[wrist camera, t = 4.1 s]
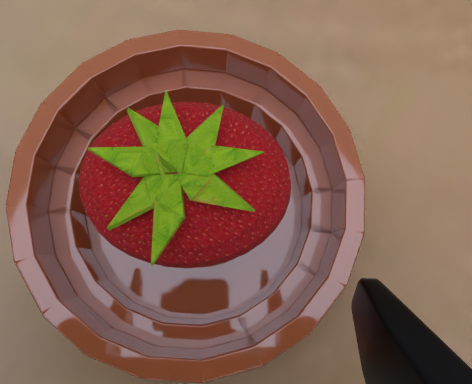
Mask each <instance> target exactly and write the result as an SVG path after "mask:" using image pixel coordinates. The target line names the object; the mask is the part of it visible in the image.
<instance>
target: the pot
mask: <svg viewBox="0 0 472 384" xmlns="http://www.w3.org/2000/svg"><path fill="white" fill-rule="evenodd" d="M165 91H167V93H168V96H169V98H170V100H171V103H172V102H200V103H208V104H213V105H217V106H221V105H223V104H224V107H226V108H228V109H231V110H233V111H236V112H238V113H241V114H243V115H245V116H247V117H248V118H250V119H252V120H253V121H255V122H257V123H258V124H259V125H260V126H262V127H263V128H264V129H265V130H266V131H267V132H268V133H269V134H271V135H272V137H273V138H274V139H275V141H276V142H277V143H278V145H279V146H280V147H281V149H282V151H283V154H284V156H285V158H286V160H287V163H288V168H289V174H290V180H291V194H290V202H289V204H288V207H287V210H286V213H285V216H284V217H283V219H282V220H281V222H280V223H279V225H278V227H277V228H276V230H275V231H274V232H273V233H272V234H271V235H270V236H269V237H268V238H267V239H266V240H265V241H264V242H263V243H261V244H260V245H258V246H257V247H255V248H254V249H252V250H251V251H249V252H248V253H246V254H244V255H242V256H239V257H237V258H235V259H233V260H230V261H227V262H224V263H220V264H216V265H212V266H207V267H196V268H174V267H164V266H160V265H156V264H154V265H153V266H151V263H148V262H145V261H142V260H140V259H137V258H134V257H132V256H129V255H127V254H125V253H124V252H122V251H121V250H119V249H117V248H116V247H114V246H113V245H111V244H110V243H109V242H108V241H107V240H106V239H105V238H104V237H103V236H102V235H101V234H100V233H99V232H98V231H97V229H96V228H95V226H94V225H93V223H92V222H91V220H90V219H89V217H88V215H87V214H86V212H85V209H84V207H83V204H82V201H81V198H80V191H79V175H80V170H81V165H82V162H83V160H84V158H85V156H86V153H87V151H88V149H87V148H88V147H90V146H91V145H92V144H93V143H94V141H95V140H96V139H97V137H98V136H99V135H100V134H101V133H102V132H104V131H105V130H106V129H107V128H108V127H109V126H110V125H112V124H113V123H115V122H116V121H118V120H120V119H121V118H123V117H125V116H126V115H128V112H127V109H128V108H130V109H131V110H133V111H135V112H136V111H138V110H141V109H143V108H146V107H150V106H154V105H159V104H163V101H164V96H165ZM364 178H365V177H364V174H363V171H362V167H361V164H360V161H359V158H358V155H357V151H356V148H355V145H354V142H353V139H352V135H351V132H350V129H348V126H347V124H346V123H345V121H344V120H343V118H342V117H341V116H340V114H339V113H338V111H337V110H336V108H335V107H334V105H333V104H332V103H331V101H330V100H329V98H328V97H327V95H326V94H325V92H324V91H323V90H322V88H321V87H320V86H318V84H317V83H316V82H314V81H313V80H312V79H311V78H309V77H308V76H307V75H306V74H304V73H303V72H302V71H300V70H299V69H298V68H297V67H295V66H294V65H293V64H292V63H290V62H289V61H288V60H286V59H285V58H284V57H283V56H281V55H280V54H278V53H277V52H275V51H272V50H269V49H267V48H264V47H262V46H259V45H257V44H254V43H252V42H249V41H247V40H244V39H242V38H239V37H237V36H234V35H231V36H230V35H229V34H220V33H209V32H198V31H187V30H180V31H179V30H175V31H170V32H165V33H159V34H154V35H149V36H144V37H139V38H134V39H129V40H126V41H124V42H122V43H120V44H118V45H116V46H114V47H112V48H110V49H109V50H107V51H105V52H103V53H101V54H99V55H97V56H95V57H93V58H91V59H89V60H87V61H86V62H84V63H82V64H81V65H80V66H79V67H78V68H77V69H76V70H75V71H74V72H72V73H71V74H70V75H69V76H68V77H67V78H66V79H65V80H64V81H63V82H62V83H61V84H60V85H59V86H58V87H57V88H56V89H55V90H54V91H53V92H52V93H51V94H50V95H49V96H48V97H47V98H46V99H45V100H44V101H43V103H41V104H40V106H39V108H38V110H37V112H36V114H35V115H34V117H33V119H32V121H31V123H30V125H29V127H28V128H27V130H26V132H25V134H24V136H23V138H22V140H21V141H20V143H19V145H18V147H17V149H16V152H15V157H14V163H13V168H12V174H11V180H10V185H9V191H8V196H7V202H6V206H7V207H6V211H7V218H8V225H9V231H10V238H11V244H12V251H13V258H14V262H15V263H16V266H17V268H18V270H19V272H20V274H21V276H22V278H23V280H24V281H25V283H26V285H27V287H28V289H29V291H30V293H31V295H32V297H33V298H34V300H35V302H36V304H37V306H38V308H39V310H40V312H41V313H42V314H43V317H44V318H45V319H47V320H48V321H49V322H50V323H51V324H52V325H53V326H54V327H55V328H56V329H58V330H59V331H60V332H61V333H62V334H63V335H64V336H65V337H66V338H67V339H68V340H70V341H71V342H72V343H73V344H74V345H75V346H76V347H77V348H78V349H79V350H80V351H82V352H83V353H84V354H85V355H87V356H88V357H91V358H93V359H95V360H98V361H100V362H103V363H105V364H107V365H110V366H112V367H114V368H117V369H119V370H122V371H124V372H126V373H129V374H131V375H133V376H136V377H138V378H143V379H146V380H162V381H178V382H195V383H203V382H208V381H212V380H215V379H219V378H222V377H226V376H229V375H233V374H237V373H240V372H244V371H247V370H251V369H255V368H258V367H260V366H261V365H262V366H263V365H265V364H267V363H268V362H269V361H271V360H272V359H274V358H275V357H277V356H278V355H280V354H281V353H283V352H284V351H286V350H287V349H288V348H290V347H291V346H293V345H294V344H296V343H297V342H299V341H300V340H302V339H303V338H304V337H306V336H307V335H309V334H310V333H311V332H312V331H313V330H314V329H315V327H316V326H317V325H318V323H319V322H320V321H321V319H322V318H323V317H324V315H325V314H326V313H327V311H328V310H329V309H330V307H331V306H332V305H333V303H334V302H335V301H336V299H337V298H338V297H339V295H340V294H341V293H342V291H343V290H344V289H345V286H347V284H348V281H349V278H350V275H351V272H352V269H353V266H354V263H355V260H356V257H357V254H358V251H359V248H360V245H361V242H362V239H363V236H364V230H365V179H364Z"/></svg>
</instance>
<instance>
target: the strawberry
mask: <svg viewBox="0 0 472 384" xmlns="http://www.w3.org/2000/svg"><path fill="white" fill-rule="evenodd" d="M127 112H128V115H126V116H125V117H123V118H121V119H120V120H118V121H116V122H115V123H113V124H112V125H110V126H109V127H108V128H107V129H106V130H105V131H104V132H102V133H101V134H100V135H99V136H98V137H97V139H96V140H95V141H94V143H93V144H92V145H91V146H90V147H88V148H87V149H88V151H87V153H86V156H85V158H84V160H83V162H82V165H81V170H80V175H79V191H80V198H81V201H82V204H83V207H84V209H85V212H86V214H87V215H88V217H89V219H90V220H91V222H92V223H93V225H94V226H95V228H96V229H97V231H98V232H99V233H100V234H101V235H102V236H103V237H104V238H105V239H106V240H107V241H108V242H109V243H110V244H111V245H113V246H114V247H116V248H117V249H119V250H121V251H122V252H124V253H125V254H127V255H129V256H132V257H134V258H137V259H140V260H142V261H145V262H148V263H151V266H153V265H154V264H156V265H160V266H164V267H174V268H196V267H207V266H212V265H216V264H220V263H224V262H227V261H230V260H233V259H235V258H237V257H239V256H242V255H244V254H246V253H248V252H249V251H251V250H252V249H254V248H255V247H257V246H258V245H260V244H261V243H263V242H264V241H265V240H266V239H267V238H268V237H269V236H270V235H271V234H272V233H273V232H274V231H275V230H276V228H277V227H278V225H279V223H280V222H281V220H282V219H283V217H284V216H285V213H286V210H287V207H288V204H289V202H290V194H291V180H290V174H289V168H288V163H287V160H286V158H285V156H284V154H283V151H282V149H281V147H280V146H279V145H278V143H277V142H276V141H275V139H274V138H273V137H272V135H271V134H269V133H268V132H267V131H266V130H265V129H264V128H263V127H262V126H260V125H259V124H258V123H257V122H255V121H253V120H252V119H250V118H248V117H247V116H245V115H243V114H241V113H238V112H236V111H233V110H231V109H228V108H226V107H224V104H223V105H221V106H217V105H213V104H208V103H200V102H172V103H171V100H170V98H169V96H168V93H167V91H165V96H164V101H163V104H159V105H154V106H150V107H146V108H143V109H141V110H138V111H136V112H135V111H133V110H131V109H130V108H128V109H127Z"/></svg>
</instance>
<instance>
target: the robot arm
mask: <svg viewBox="0 0 472 384" xmlns="http://www.w3.org/2000/svg"><path fill="white" fill-rule="evenodd" d="M352 314H353V320H354V326H355V332H356V337H357V343H358V349H359V354H360V360H361V365H362V370H363V375H364V378H365V382H366V384H472V369H471V368H470V367H469V366H468V365H467V364H466V363H465V362H464V361H463V360H462V359H461V358H460V357H459V356H458V355H457V354H455V353H454V352H453V351H452V350H451V349H450V348H449V347H448V346H447V345H446V344H445V343H444V342H443V341H442V340H441V339H440V338H439V337H438V336H437V335H436V334H435V333H434V332H433V331H432V330H430V329H429V328H428V327H427V326H426V325H425V324H424V323H423V322H422V321H421V320H420V319H419V318H418V317H417V316H416V315H415V314H414V313H413V312H412V311H411V310H410V309H409V308H408V307H407V306H405V305H404V304H403V303H402V302H401V301H400V300H399V299H398V298H397V297H396V296H395V295H394V294H393V293H392V292H391V291H390V290H389V289H388V288H387V287H386V286H385V285H384V284H383V283H381V282H380V281H379V280H378V279H367V278H362V279H360V280H359V282H358V284H357V287H356V290H355V293H354V297H353V300H352Z"/></svg>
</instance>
